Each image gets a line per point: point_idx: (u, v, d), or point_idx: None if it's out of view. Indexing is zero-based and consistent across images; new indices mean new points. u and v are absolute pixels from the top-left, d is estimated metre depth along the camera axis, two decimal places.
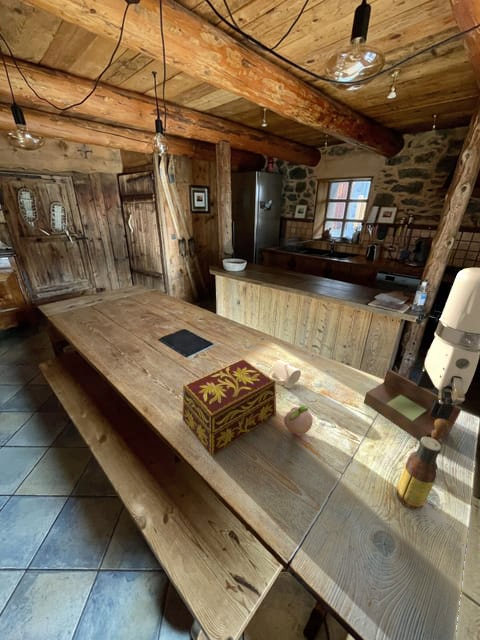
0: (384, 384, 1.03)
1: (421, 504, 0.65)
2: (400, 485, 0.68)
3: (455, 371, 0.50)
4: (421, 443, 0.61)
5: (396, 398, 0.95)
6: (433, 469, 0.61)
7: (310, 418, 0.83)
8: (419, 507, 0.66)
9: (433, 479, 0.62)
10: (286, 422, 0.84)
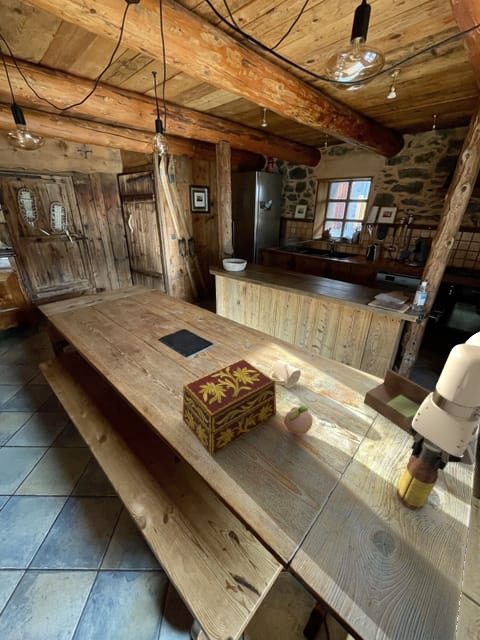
0: (384, 384, 1.03)
1: (421, 504, 0.65)
2: (401, 485, 0.68)
3: (470, 439, 0.53)
4: (423, 444, 0.61)
5: (396, 398, 0.95)
6: None
7: (310, 418, 0.83)
8: (419, 507, 0.66)
9: (434, 480, 0.62)
10: (286, 422, 0.84)
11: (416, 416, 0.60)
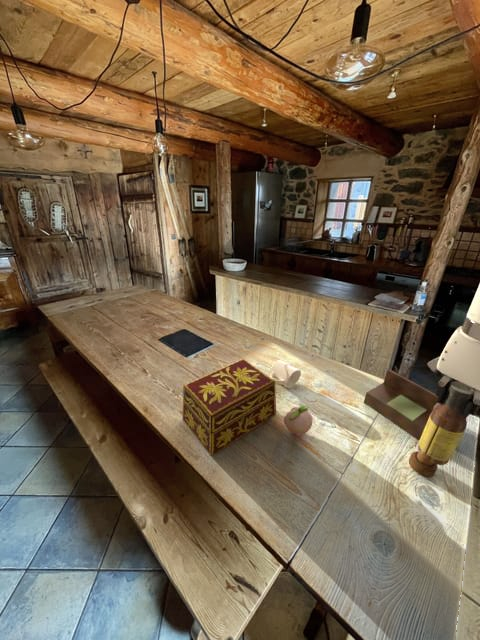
0: (384, 384, 1.03)
1: (447, 458, 0.58)
2: (423, 439, 0.61)
3: None
4: (451, 387, 0.54)
5: (396, 398, 0.95)
6: None
7: (310, 418, 0.83)
8: (444, 462, 0.59)
9: (463, 428, 0.55)
10: (286, 422, 0.84)
11: (442, 355, 0.53)
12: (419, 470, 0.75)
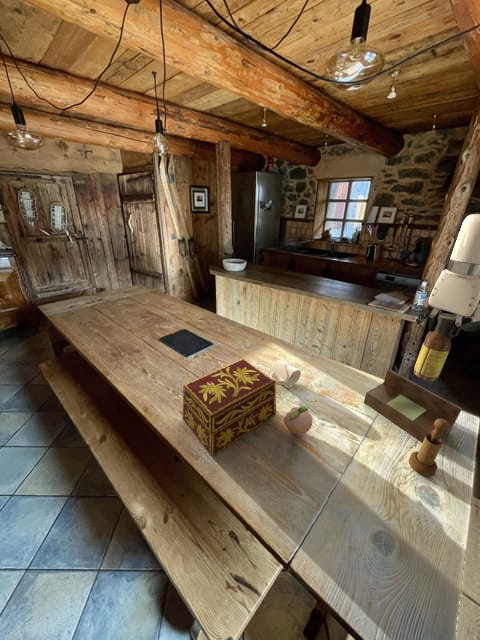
0: (384, 384, 1.03)
1: (436, 375, 0.76)
2: (417, 363, 0.78)
3: None
4: (439, 316, 0.71)
5: (396, 398, 0.95)
6: None
7: (310, 418, 0.83)
8: (434, 379, 0.76)
9: (448, 348, 0.72)
10: (286, 422, 0.84)
11: (433, 291, 0.71)
12: (419, 470, 0.75)
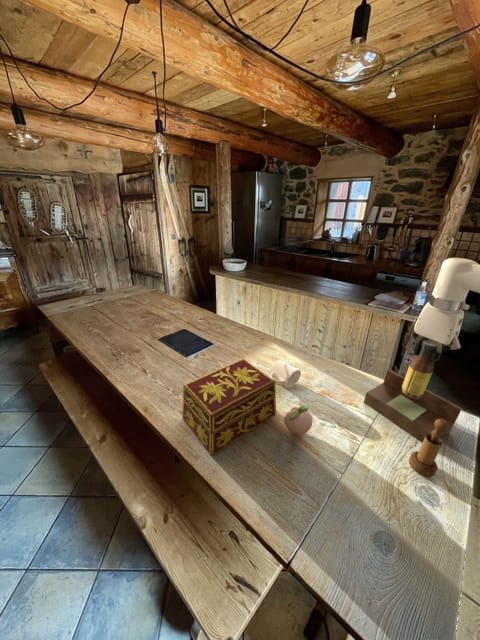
0: (384, 384, 1.03)
1: (420, 393, 0.85)
2: (405, 382, 0.88)
3: (457, 328, 0.73)
4: (423, 343, 0.81)
5: (396, 398, 0.95)
6: None
7: (310, 418, 0.83)
8: (419, 396, 0.86)
9: (431, 371, 0.82)
10: (286, 422, 0.84)
11: (417, 321, 0.80)
12: (419, 470, 0.75)
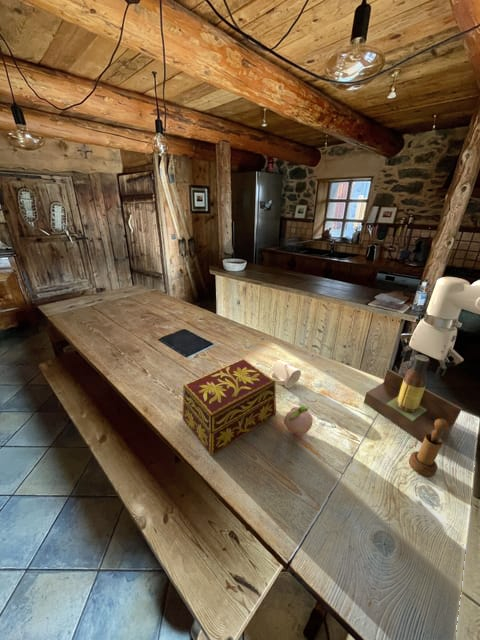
0: (384, 384, 1.03)
1: (415, 407, 0.88)
2: (399, 395, 0.90)
3: (450, 345, 0.76)
4: (415, 358, 0.84)
5: (396, 398, 0.95)
6: (424, 376, 0.84)
7: (310, 418, 0.83)
8: (414, 410, 0.89)
9: (424, 385, 0.85)
10: (286, 422, 0.84)
11: (412, 336, 0.83)
12: (419, 470, 0.75)
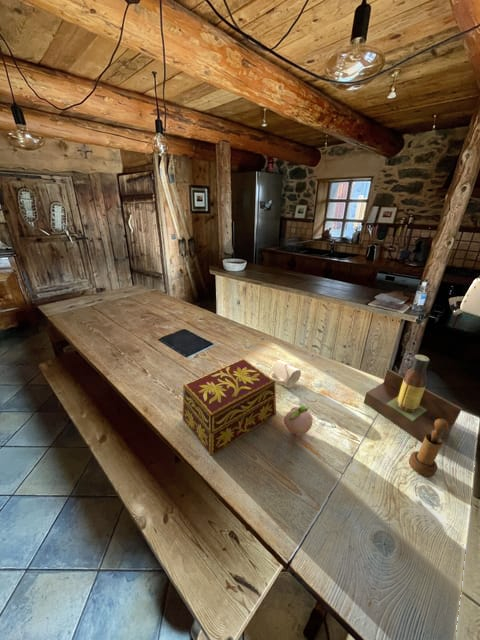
0: (384, 384, 1.03)
1: (415, 407, 0.88)
2: (399, 395, 0.90)
3: None
4: (415, 358, 0.84)
5: (396, 398, 0.95)
6: (424, 376, 0.84)
7: (310, 418, 0.83)
8: (414, 410, 0.89)
9: (424, 385, 0.85)
10: (286, 422, 0.84)
11: (465, 298, 0.77)
12: (419, 470, 0.75)
